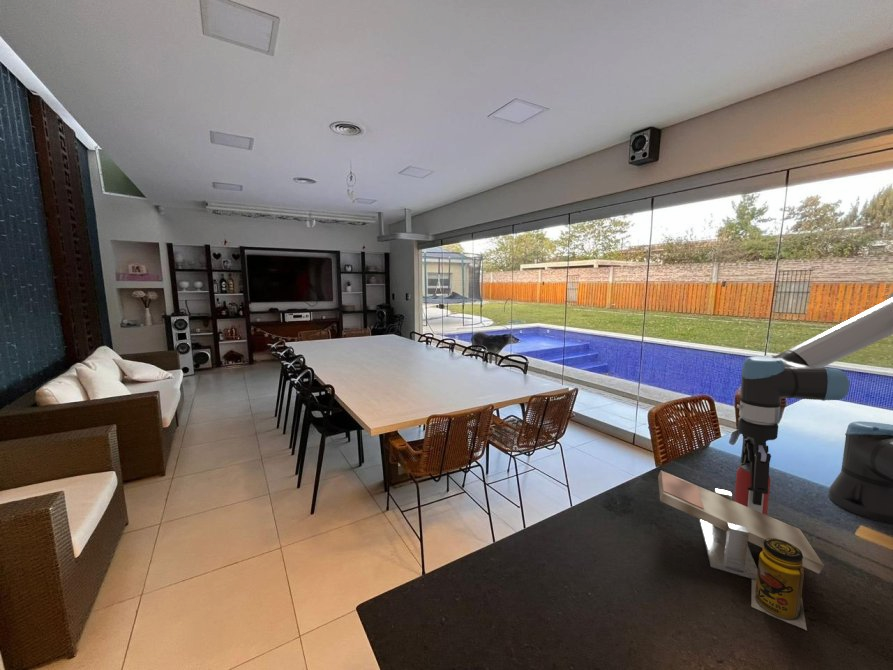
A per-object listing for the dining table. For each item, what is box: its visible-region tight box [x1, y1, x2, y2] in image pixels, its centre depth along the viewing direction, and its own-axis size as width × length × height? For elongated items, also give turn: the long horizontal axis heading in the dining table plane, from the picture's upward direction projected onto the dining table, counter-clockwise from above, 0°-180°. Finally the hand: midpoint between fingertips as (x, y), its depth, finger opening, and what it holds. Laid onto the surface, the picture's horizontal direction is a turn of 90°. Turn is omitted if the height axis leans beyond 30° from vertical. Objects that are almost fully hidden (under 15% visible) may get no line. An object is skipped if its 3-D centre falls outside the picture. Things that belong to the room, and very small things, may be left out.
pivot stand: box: [698, 488, 758, 581], centre depth 81 cm, size 8×17×10 cm, turn 152°
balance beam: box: [657, 469, 825, 574], centre depth 81 cm, size 28×12×2 cm, turn 62°
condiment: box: [750, 538, 808, 631], centre depth 67 cm, size 7×8×12 cm
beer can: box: [733, 462, 771, 516], centre depth 92 cm, size 7×7×12 cm
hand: (750, 506), depth 92 cm, fingers closed on beer can, 7 cm apart
